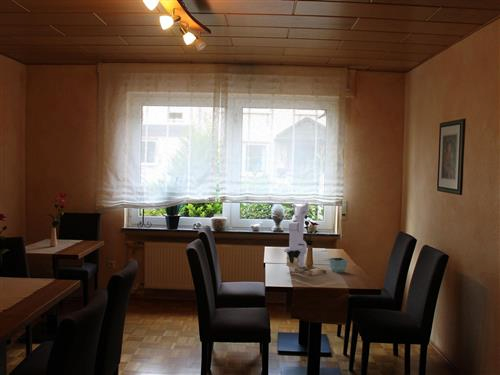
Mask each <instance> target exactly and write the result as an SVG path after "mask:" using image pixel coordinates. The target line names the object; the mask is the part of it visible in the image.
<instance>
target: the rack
mask: <svg viewBox="0 0 500 375" xmlns="http://www.w3.org/2000/svg"><path fill="white" fill-rule="evenodd" d="M316 268H317V269H322V271H323V274H322V275H325V274H327V270H326V269H323V268H318V267H315V266H311V265H309V266H308V268H304V269H300V268H294V272H295V273H298V274H302V275H305V276H309V277H313V276H319V275H321V274H317V275H312V273H311V272H308V271H309V270H312V269H316Z"/></svg>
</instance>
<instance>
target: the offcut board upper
mask: <svg viewBox="0 0 500 375" xmlns="http://www.w3.org/2000/svg"><path fill="white" fill-rule="evenodd" d="M317 268H318V267H316V269H312V270H309V272H311V273H317V272H321V271H322V269H323V268H320V269H317Z"/></svg>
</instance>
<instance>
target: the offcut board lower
mask: <svg viewBox="0 0 500 375" xmlns="http://www.w3.org/2000/svg"><path fill="white" fill-rule="evenodd" d="M308 272H309V271H308ZM317 274H320V275H324V274H323V271H321V272H317V273H312V275H315V276H318V275H317Z"/></svg>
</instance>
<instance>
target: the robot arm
mask: <svg viewBox="0 0 500 375" xmlns="http://www.w3.org/2000/svg"><path fill="white" fill-rule="evenodd" d="M292 211H293V215H292V218H291V221H290V222H288V233H289V240H288V242H289V243H288V244H289V245H288V247H287V248H286V247H285V248H284V250H283V252H284V253H286V254H287V256H289V259H290V263H293V261H294V257H296V258H299V268H304V266H305V255H306V254H307V251H308V249H307V248H308V246H307V242H306V241H305V240H304V228H305V217H306V216H307V215H308V214H309V202H304V201H293V203H292Z"/></svg>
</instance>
